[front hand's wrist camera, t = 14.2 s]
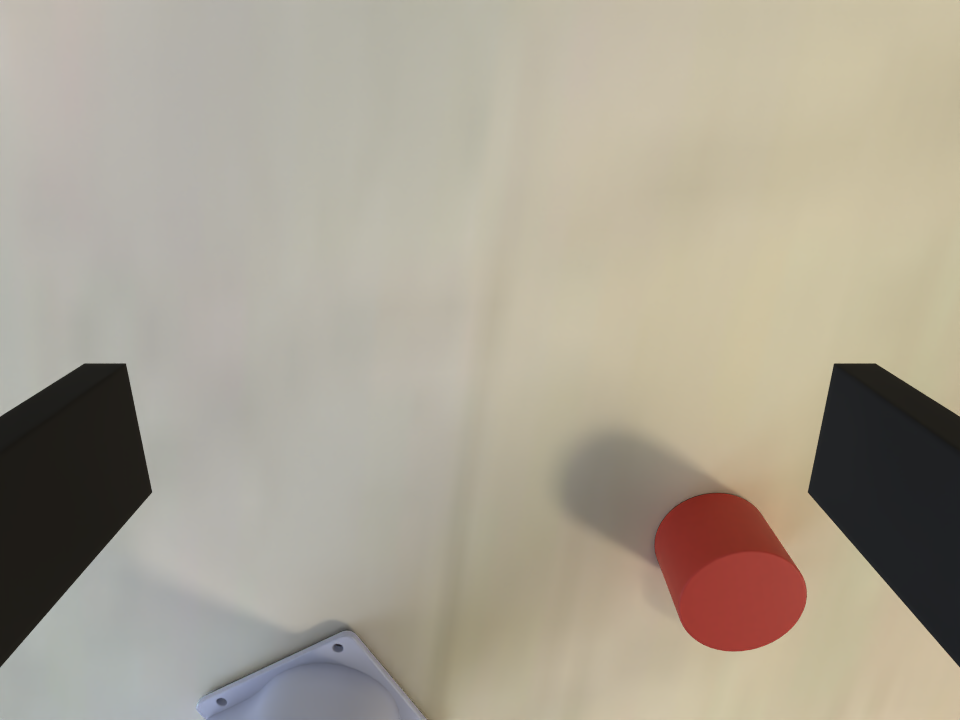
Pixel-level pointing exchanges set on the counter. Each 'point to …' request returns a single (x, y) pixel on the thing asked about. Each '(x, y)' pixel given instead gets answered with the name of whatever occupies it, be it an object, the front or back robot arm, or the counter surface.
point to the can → (728, 573)
